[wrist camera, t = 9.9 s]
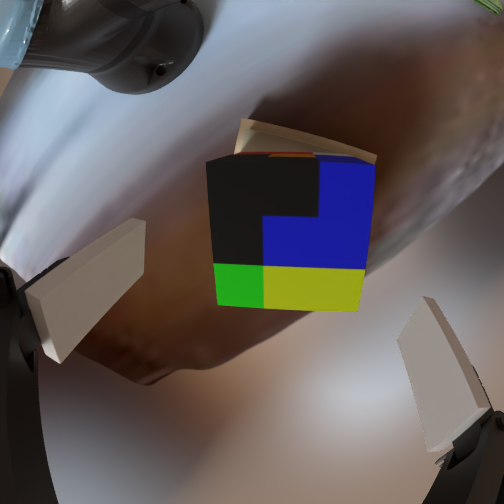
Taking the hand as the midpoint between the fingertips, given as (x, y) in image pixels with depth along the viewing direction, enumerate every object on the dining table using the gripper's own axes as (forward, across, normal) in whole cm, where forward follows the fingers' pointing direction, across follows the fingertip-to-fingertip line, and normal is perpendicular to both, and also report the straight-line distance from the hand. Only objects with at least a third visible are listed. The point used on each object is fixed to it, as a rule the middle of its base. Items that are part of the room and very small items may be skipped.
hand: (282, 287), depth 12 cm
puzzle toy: (+16, 0, 0) cm, 16 cm away
